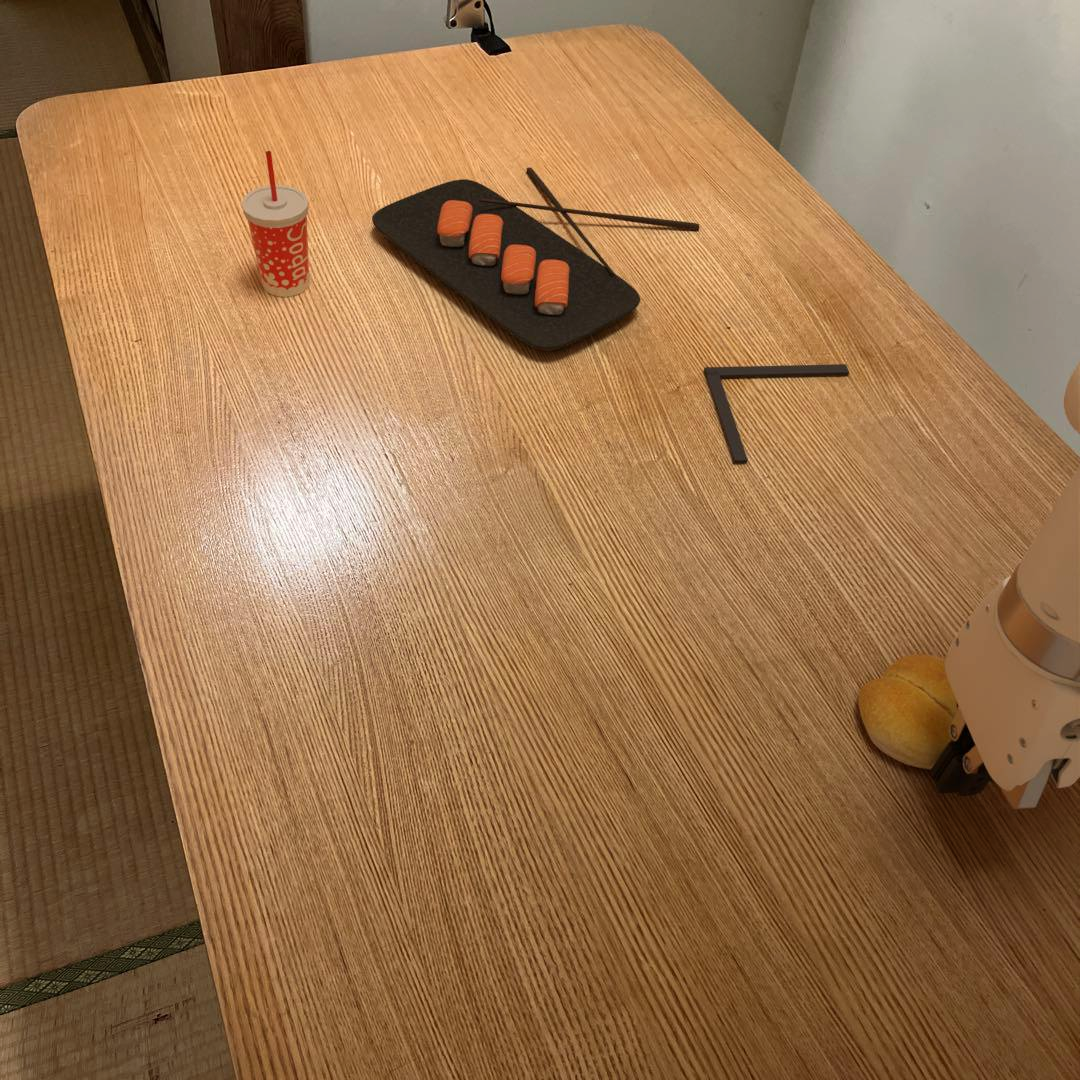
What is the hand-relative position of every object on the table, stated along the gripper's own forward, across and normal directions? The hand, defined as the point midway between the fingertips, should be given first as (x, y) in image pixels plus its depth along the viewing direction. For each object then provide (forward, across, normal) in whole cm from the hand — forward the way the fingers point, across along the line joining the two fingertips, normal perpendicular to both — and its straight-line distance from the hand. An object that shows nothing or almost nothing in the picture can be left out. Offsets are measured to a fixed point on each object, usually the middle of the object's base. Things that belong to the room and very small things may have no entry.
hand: (955, 781), depth 72 cm
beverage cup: (+2, +60, +47) cm, 76 cm away
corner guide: (+2, +38, 0) cm, 38 cm away
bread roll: (+2, +6, 0) cm, 6 cm away
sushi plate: (+2, +66, +19) cm, 69 cm away
